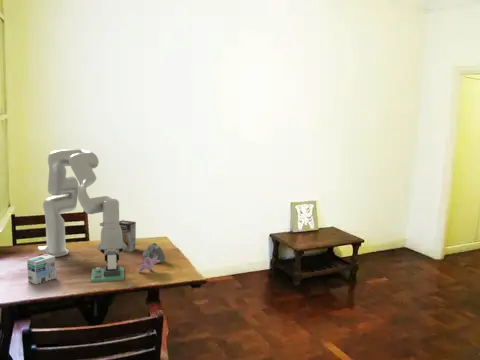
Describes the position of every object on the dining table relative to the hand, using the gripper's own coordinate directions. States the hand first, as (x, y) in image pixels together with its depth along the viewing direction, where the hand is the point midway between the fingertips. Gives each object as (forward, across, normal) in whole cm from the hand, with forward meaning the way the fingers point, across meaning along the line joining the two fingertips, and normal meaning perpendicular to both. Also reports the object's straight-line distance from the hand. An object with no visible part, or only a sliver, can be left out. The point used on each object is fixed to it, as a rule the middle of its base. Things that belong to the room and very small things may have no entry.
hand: (112, 261), depth 228 cm
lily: (+7, +18, 0) cm, 19 cm away
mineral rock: (+7, +21, +18) cm, 29 cm away
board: (+7, -2, 0) cm, 7 cm away
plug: (+3, 0, 0) cm, 3 cm away
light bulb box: (+7, -32, 0) cm, 32 cm away
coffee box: (+7, +7, +39) cm, 40 cm away
